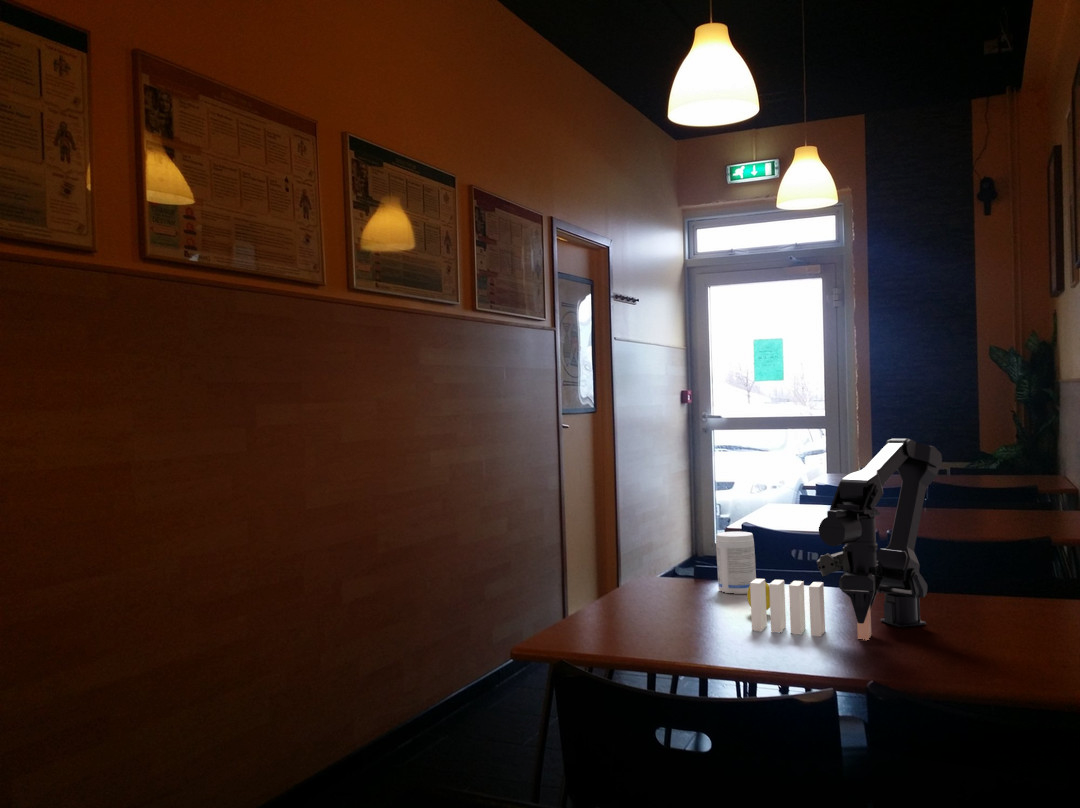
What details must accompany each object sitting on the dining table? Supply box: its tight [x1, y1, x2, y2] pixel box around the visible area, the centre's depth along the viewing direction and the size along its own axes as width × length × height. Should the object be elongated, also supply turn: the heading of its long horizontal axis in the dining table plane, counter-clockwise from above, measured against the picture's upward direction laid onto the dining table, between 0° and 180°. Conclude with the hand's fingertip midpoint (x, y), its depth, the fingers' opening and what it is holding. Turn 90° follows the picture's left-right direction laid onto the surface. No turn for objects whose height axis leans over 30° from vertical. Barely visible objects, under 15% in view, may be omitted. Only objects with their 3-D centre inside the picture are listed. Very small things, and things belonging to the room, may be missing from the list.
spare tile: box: [856, 607, 872, 641], centre depth 172 cm, size 2×5×10 cm, turn 153°
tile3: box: [788, 580, 806, 635], centre depth 178 cm, size 2×5×10 cm, turn 153°
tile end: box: [750, 578, 768, 632], centre depth 182 cm, size 2×5×10 cm, turn 152°
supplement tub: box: [715, 531, 757, 595], centre depth 219 cm, size 10×10×15 cm
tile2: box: [808, 581, 826, 637], centre depth 176 cm, size 2×5×10 cm, turn 152°
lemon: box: [746, 581, 770, 611], centre depth 194 cm, size 6×6×8 cm
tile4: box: [768, 579, 787, 633], centre depth 180 cm, size 2×5×10 cm, turn 152°
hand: (863, 617), depth 172 cm, fingers open, 9 cm apart
